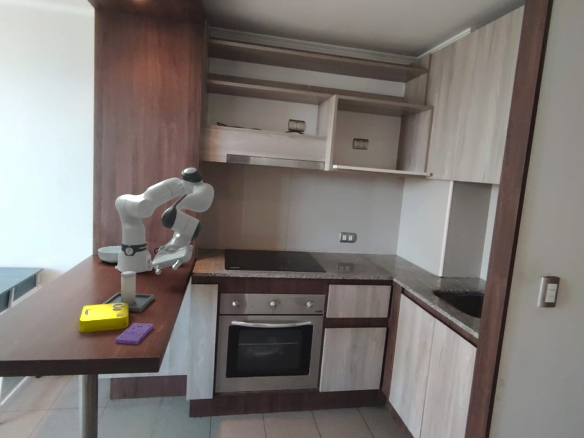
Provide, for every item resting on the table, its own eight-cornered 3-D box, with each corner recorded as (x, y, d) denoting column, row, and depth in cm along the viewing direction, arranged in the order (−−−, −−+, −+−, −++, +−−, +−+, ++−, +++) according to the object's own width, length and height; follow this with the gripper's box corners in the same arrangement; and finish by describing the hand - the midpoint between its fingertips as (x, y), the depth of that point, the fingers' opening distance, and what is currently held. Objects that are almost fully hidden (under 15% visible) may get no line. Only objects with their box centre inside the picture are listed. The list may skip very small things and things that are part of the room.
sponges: (153, 329, 128) (153, 323, 128) (136, 346, 116) (137, 340, 115) (133, 327, 128) (133, 322, 128) (114, 344, 116) (114, 338, 116)
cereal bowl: (98, 258, 211) (98, 246, 210) (129, 257, 219) (129, 245, 218) (97, 266, 196) (97, 253, 195) (131, 264, 204) (132, 251, 203)
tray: (117, 296, 154) (117, 292, 154) (153, 298, 155) (153, 294, 155) (99, 310, 140) (99, 305, 139) (139, 312, 140) (140, 308, 140)
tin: (124, 299, 150) (124, 270, 148) (137, 300, 150) (138, 271, 148) (118, 304, 144) (118, 274, 143) (132, 305, 144) (133, 275, 143)
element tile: (82, 316, 134) (82, 303, 133) (128, 312, 140) (128, 300, 140) (78, 334, 120) (77, 320, 120) (128, 329, 127) (128, 315, 126)
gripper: (198, 248, 172) (188, 271, 162) (164, 257, 180) (152, 280, 169) (190, 239, 169) (180, 261, 158) (156, 249, 176) (144, 271, 166)
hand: (165, 271), depth 164 cm, fingers open, 8 cm apart
